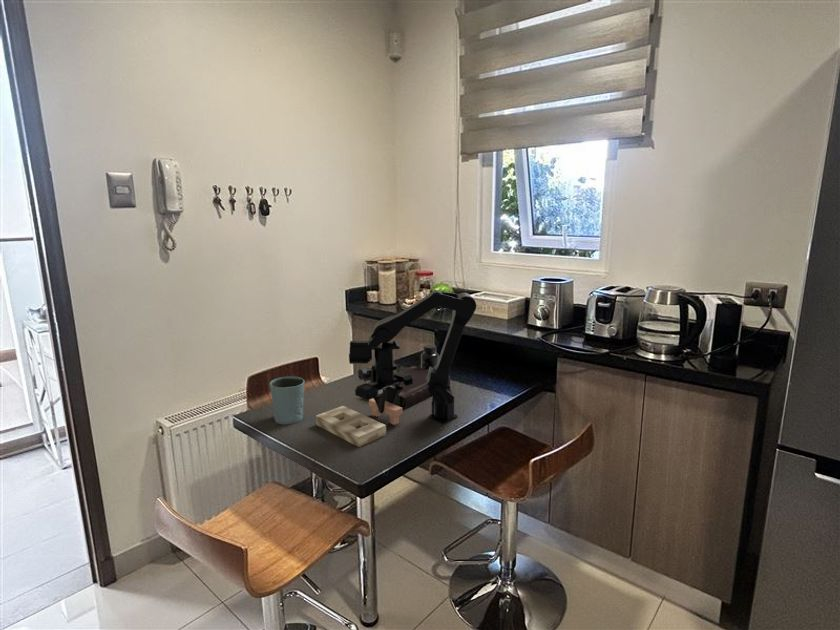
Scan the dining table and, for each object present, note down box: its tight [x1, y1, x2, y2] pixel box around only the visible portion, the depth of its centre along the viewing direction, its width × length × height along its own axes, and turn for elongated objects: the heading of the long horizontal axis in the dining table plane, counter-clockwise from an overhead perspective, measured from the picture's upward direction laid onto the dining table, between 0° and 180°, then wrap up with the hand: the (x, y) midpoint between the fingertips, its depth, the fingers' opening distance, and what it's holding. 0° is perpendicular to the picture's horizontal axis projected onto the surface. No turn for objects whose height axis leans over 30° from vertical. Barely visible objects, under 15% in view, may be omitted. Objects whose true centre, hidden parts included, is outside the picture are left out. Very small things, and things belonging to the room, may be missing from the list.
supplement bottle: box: [420, 344, 440, 370], centre depth 186 cm, size 7×7×12 cm
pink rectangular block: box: [368, 398, 404, 426], centre depth 150 cm, size 12×3×5 cm, turn 46°
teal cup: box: [269, 376, 305, 425], centre depth 151 cm, size 10×10×12 cm
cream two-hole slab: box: [315, 405, 387, 448], centre depth 144 cm, size 20×10×3 cm, turn 46°
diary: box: [367, 365, 451, 409], centre depth 173 cm, size 19×25×5 cm
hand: (385, 411), depth 150 cm, fingers closed on pink rectangular block, 3 cm apart
